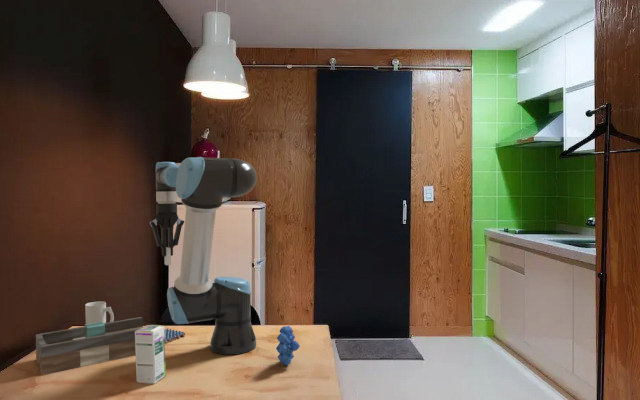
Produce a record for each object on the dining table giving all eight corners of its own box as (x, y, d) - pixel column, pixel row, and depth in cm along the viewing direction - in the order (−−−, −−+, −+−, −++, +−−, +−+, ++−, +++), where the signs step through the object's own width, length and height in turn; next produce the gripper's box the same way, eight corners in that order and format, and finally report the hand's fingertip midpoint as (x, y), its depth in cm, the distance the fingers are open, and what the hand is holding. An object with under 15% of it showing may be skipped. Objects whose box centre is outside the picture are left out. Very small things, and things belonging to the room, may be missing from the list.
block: (105, 340, 146) (104, 325, 146) (87, 343, 144) (87, 327, 143) (101, 336, 151) (101, 321, 150) (85, 339, 148) (84, 324, 147)
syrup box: (155, 384, 125) (154, 331, 125) (135, 382, 126) (134, 330, 126) (166, 376, 130) (165, 325, 130) (147, 374, 132) (146, 324, 131)
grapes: (294, 373, 131) (294, 331, 131) (271, 371, 133) (271, 330, 133) (305, 359, 143) (305, 320, 142) (284, 357, 144) (284, 319, 144)
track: (155, 350, 151) (154, 326, 151) (41, 375, 132) (41, 347, 132) (141, 339, 163) (141, 316, 163) (36, 359, 144) (35, 334, 144)
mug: (81, 339, 164) (81, 305, 163) (92, 333, 170) (92, 301, 170) (108, 340, 163) (108, 306, 163) (118, 334, 170) (118, 301, 169)
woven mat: (142, 341, 163) (142, 335, 163) (166, 333, 172) (166, 327, 172) (163, 346, 157) (163, 340, 157) (186, 337, 166) (186, 331, 166)
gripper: (180, 202, 182) (180, 261, 183) (146, 203, 174) (147, 265, 175) (186, 202, 176) (187, 264, 177) (152, 203, 168) (153, 267, 169)
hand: (167, 264), depth 176 cm, fingers closed
